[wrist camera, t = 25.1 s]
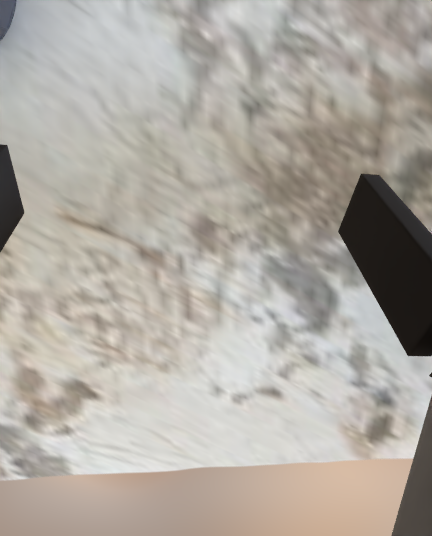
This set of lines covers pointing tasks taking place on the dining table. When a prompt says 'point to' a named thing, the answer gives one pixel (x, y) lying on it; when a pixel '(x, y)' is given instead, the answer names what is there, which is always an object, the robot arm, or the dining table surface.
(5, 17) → the pot
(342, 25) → the dining table surface
